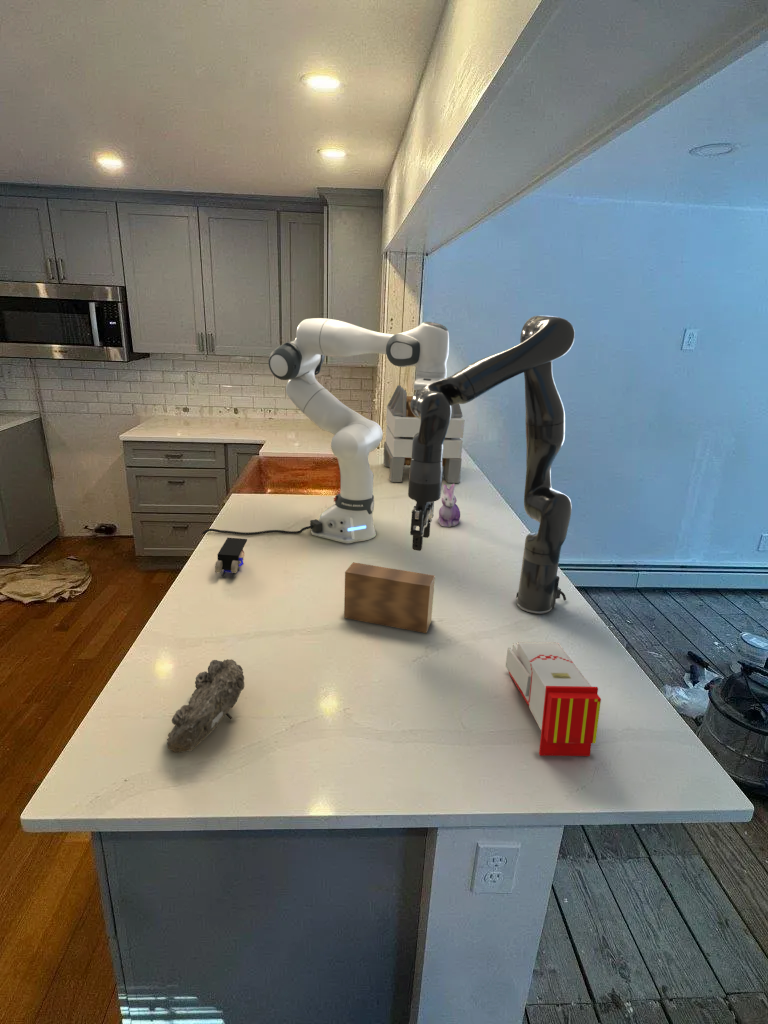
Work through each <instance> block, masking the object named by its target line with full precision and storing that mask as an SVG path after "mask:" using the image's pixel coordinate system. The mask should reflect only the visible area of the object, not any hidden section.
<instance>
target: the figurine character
mask: <svg viewBox="0 0 768 1024" xmlns="http://www.w3.org/2000/svg"><path fill="white" fill-rule="evenodd" d="M247 542H248V538H240V537H226V539H225V541H224V543H223V544H222V546H221V547H220V549H219V551H218V552H217V560H216V562H215V564H214V572H215V573H221V577H222V578H224V577H225V576H226V574H227V573H230V574H231V573H232V574H231V578H234V577H235V575H236V573H237V572H239V571H240V567H242V566H243V565H244V564H245V562H244V558H245V551H244V547H245V546H246V544H247Z"/></svg>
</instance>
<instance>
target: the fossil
mask: <svg viewBox="0 0 768 1024" xmlns="http://www.w3.org/2000/svg"><path fill="white" fill-rule="evenodd" d="M243 670H244V669H243V667H242V665H240V664H237V662H236V661H235V660H234V659H232V658H231V659H227V658H226V659H224V660H223V661H222V660H217V659H212V660H211V661H210V663H209V665H208V666H207V671H201V672H199V673H198V674H197V675H196V676H195V680H194V684H195V685H194V687H195V689H194V690H193V693H192V694H191V697H190V698H189V700H188V704H184V705H182V706H181V707H180V709H177V710H176V711H175V713H174V715H173V716H172V718H171V723H172V724H173V727H172V730H171V731H170V732H168V734H167V738H166V741H167V742H166V745H167V749H168V750H169V751H173V752H174V753H176V754H178V753H182V752H188V751H189V752H192V751H193V750H195V748H196V747H197V746H199V744H200V743H201V742H203V741H204V740H205V739H206V738H207V737H208V736H209V735H210V734H211V733H212V732H214V730H215V729H217V727H218V726H219V724H220V722H221V721H222V720H223V719H224V718H225V716H226V717H227V719H229V720H233V717H232V715H230V714H229V710H230V709H231V708H234V706H235V704H236V703H237V702H238V699H239V697H240V695H241V693H242V691H243V690H245V689H244V688H245V675H244V671H243Z"/></svg>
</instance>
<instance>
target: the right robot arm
mask: <svg viewBox="0 0 768 1024" xmlns="http://www.w3.org/2000/svg"><path fill="white" fill-rule="evenodd" d="M575 335H576V331H575V328H574V326H573V325H572V323H571V321H569V320H567V319H566V318H563V317H560V316H555V315H554V316H553V315H534V316H531V317H530V318H528V320H526V321H525V323H524V324H523V326H522V329H521V332H520V339H519V343H518V344H516V345H515V346H512V347H510V348H508V349H505V350H503V351H500V352H497V353H494V354H490V355H488V356H485V357H483V358H480V359H479V360H476V361H474V362H473V363H471V364H469V365H467V366H465V367H463V368H462V369H460V370H458V371H457V372H455V373H453V374H452V375H450V376H448V377H446V378H445V379H442V380H439V381H437V382H434V383H432V384H429V385H427V386H425V387H423V388H421V389H420V390H419V391H417V392H416V391H415V393H414V394H413V395H412V396H413V397H412V399H411V403H410V408H411V411H412V413H413V414H414V415H415V416H416V417H417V418H419V419H421V424H420V429H419V433H417V434H415V436H414V438H413V442H412V458H411V464H410V466H409V475H408V492H407V496H408V498H409V499H411V500H413V501H415V502H416V503H415V505H414V506H413V509H412V510H411V520H410V522H411V523H410V532H409V534H410V536H412V543H411V544H412V545H411V549H412V550H413V551H417V552H420V551H422V549H423V542H424V538H425V539H428V538H430V535H431V523H432V522H433V518H434V509H435V502H437V501H439V500H440V499H441V498H442V497H441V496H442V486H443V485H442V483H443V474H442V472H443V467H442V458H443V442H444V439H445V436H446V433H447V430H448V426H449V423H450V419H451V406H452V405H455V404H459V405H464V404H468V403H470V402H472V401H474V400H475V399H477V398H478V397H481V396H482V395H484V394H485V393H487V392H489V391H490V390H492V389H494V388H495V387H498V386H499V385H501V384H503V383H504V382H506V381H509V380H510V379H512V378H514V377H517V376H518V375H521V374H523V377H524V378H523V379H524V401H525V404H524V405H525V417H524V418H525V445H526V451H525V452H526V457H525V462H526V463H525V464H526V465H525V467H526V468H525V469H526V471H525V481H524V493H523V494H524V495H523V508H524V511H525V513H526V515H527V516H528V517H529V518H531V519H532V520H534V521H535V522H538V523H539V525H538V531H534V532H530V533H528V534H527V535H526V537H525V540H524V548H523V555H522V561H521V562H522V563H521V568H520V569H521V570H520V577H519V583H518V591H517V592H516V594H515V595H516V596H515V599H516V601H515V602H516V606H517V607H518V608H519V609H520V610H521V611H523V612H527V613H530V614H535V615H544V614H548V613H550V612H551V611H552V610H553V609H555V608H556V603H557V599H558V600H559V599H561V597H562V599H563V601H567V596H566V594H565V593H564V592H563V591H562V588H560V587H559V581H560V576H559V575H558V569H559V564H560V558H561V557H560V556H561V552H562V546H563V545H564V543H565V541H566V538H567V534H568V531H569V526H570V521H571V517H572V511H573V505H572V501H571V498H570V497H569V496H568V495H566V494H565V493H563V492H561V491H559V490H557V489H554V488H553V487H552V466H553V463H554V462H555V459H556V457H557V456H558V455H559V453H560V451H561V449H562V447H563V445H564V442H565V438H566V413H565V407H564V403H563V401H562V398H561V396H560V393H559V391H558V389H557V386H556V383H555V379H554V374H553V361H555V360H558V359H560V358H562V357H563V356H565V355H566V354H567V353H568V352H569V351H570V350H571V348H572V347H573V345H574V343H575V337H576V336H575ZM417 527H418V528H419V529H418V530H417Z"/></svg>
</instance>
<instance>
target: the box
mask: <svg viewBox="0 0 768 1024" xmlns="http://www.w3.org/2000/svg"><path fill="white" fill-rule="evenodd" d="M435 581H436V575H433V574H428V573H422V572H417V571H416V572H414V571H408V570H404V569H396V568H392V567H391V568H390V567H385V566H380V565H372V564H366V563H360V562H351V564H350V565H349V566H348V568H347V569H346V570H345V571H344V598H343V599H344V600H343V601H344V604H343V605H344V607H343V610H344V611H343V612H344V613H343V618H344V619H348V620H354V621H359V622H364V623H369V624H374V625H375V624H376V625H380V626H386V627H391V628H397V629H401V630H407V631H412V632H417V633H418V632H419V633H423V634H427V633H428V631H429V628H430V625H431V623H432V617H433V605H434V604H433V603H434V592H435Z"/></svg>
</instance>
